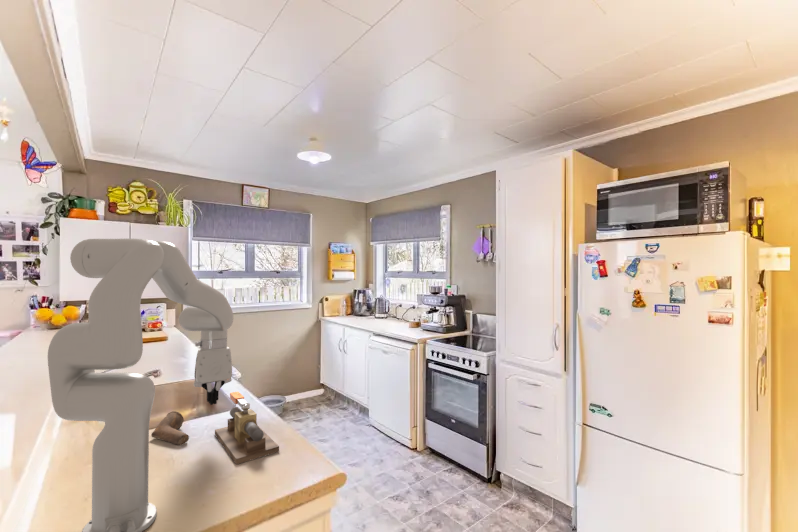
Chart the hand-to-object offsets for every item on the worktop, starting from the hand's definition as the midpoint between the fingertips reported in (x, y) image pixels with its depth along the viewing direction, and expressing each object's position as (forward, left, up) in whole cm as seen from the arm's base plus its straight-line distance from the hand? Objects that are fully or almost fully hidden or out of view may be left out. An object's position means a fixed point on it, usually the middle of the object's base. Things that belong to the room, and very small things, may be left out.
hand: (212, 403), depth 118 cm
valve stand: (-8, -8, -12) cm, 16 cm away
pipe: (+10, +9, -12) cm, 18 cm away
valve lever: (-2, -8, -1) cm, 8 cm away
